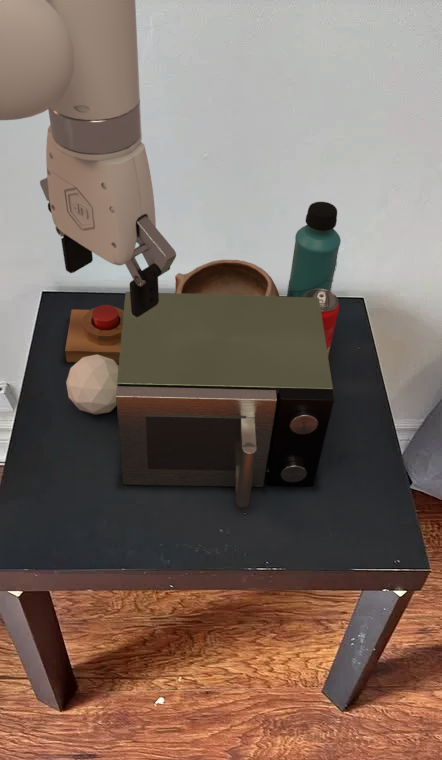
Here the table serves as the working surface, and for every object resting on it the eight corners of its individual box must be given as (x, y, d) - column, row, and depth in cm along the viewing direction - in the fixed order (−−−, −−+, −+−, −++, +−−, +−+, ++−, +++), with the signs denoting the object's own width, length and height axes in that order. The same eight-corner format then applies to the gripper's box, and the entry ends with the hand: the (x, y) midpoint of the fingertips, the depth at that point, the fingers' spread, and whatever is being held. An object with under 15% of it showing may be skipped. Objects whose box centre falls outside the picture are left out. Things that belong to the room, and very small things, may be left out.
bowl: (166, 306, 115) (165, 251, 108) (265, 301, 118) (272, 246, 110) (178, 377, 106) (179, 322, 98) (286, 370, 108) (295, 315, 100)
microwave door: (265, 521, 91) (280, 436, 79) (120, 519, 90) (112, 432, 78) (262, 477, 96) (276, 389, 83) (123, 474, 95) (116, 385, 82)
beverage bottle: (292, 344, 112) (312, 226, 96) (274, 317, 115) (290, 198, 100) (331, 335, 113) (357, 217, 98) (312, 308, 117) (333, 191, 101)
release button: (117, 331, 106) (117, 321, 105) (92, 330, 106) (91, 320, 104) (119, 314, 108) (118, 305, 107) (94, 313, 108) (93, 304, 107)
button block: (144, 364, 107) (143, 342, 104) (66, 362, 107) (63, 340, 104) (146, 322, 113) (145, 301, 110) (73, 320, 112) (70, 299, 109)
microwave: (313, 492, 95) (335, 404, 82) (122, 489, 93) (115, 399, 81) (301, 388, 106) (318, 297, 93) (131, 384, 105) (125, 291, 92)
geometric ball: (89, 427, 103) (49, 405, 97) (96, 374, 105) (58, 349, 99) (134, 419, 99) (96, 396, 93) (140, 365, 102) (103, 338, 95)
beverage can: (288, 375, 108) (299, 308, 98) (292, 351, 111) (303, 284, 101) (323, 381, 107) (338, 314, 98) (327, 356, 110) (341, 290, 101)
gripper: (-6, 99, 64) (27, 266, 78) (135, 178, 57) (145, 346, 71) (62, 71, 68) (82, 236, 81) (202, 143, 61) (199, 309, 74)
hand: (111, 287), depth 76 cm, fingers open, 9 cm apart
